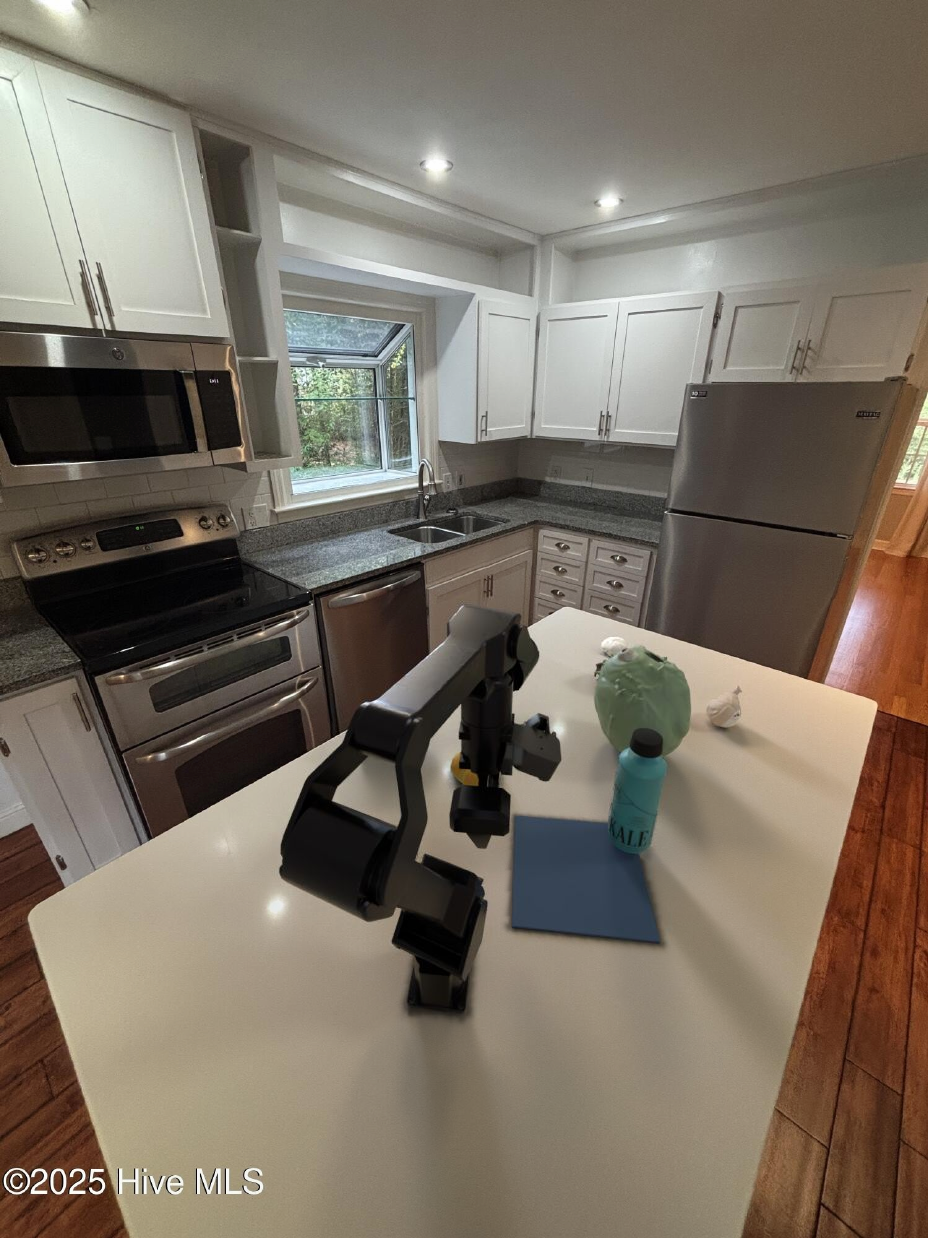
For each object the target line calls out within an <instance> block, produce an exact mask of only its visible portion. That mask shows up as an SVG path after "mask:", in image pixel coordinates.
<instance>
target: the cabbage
mask: <svg viewBox="0 0 928 1238" xmlns="http://www.w3.org/2000/svg"><path fill="white" fill-rule="evenodd" d="M610 655H611V656H612V657H611V656H609V657H608V658H607V659H606V658H605V659H602V662H603V665H602V667H601V671H597V672H595V671H594V672H593V674H594V673H595V674H597V676H598V677H597V678H595V681H596V685H595V691H594V696H593V702H594V703H593V704H594V709H595V712H596V714H597V718H598V721H599V725H600V728H601V730H602V732H603V735H604V736H605V738H607V740H608V741H609V744H610V745H611V746H613V747H614V749H616V750H617V751H618V752H619V753H621V752H622V751H623V750H625V749H627V748H629V747H630V740H631V737H632V734H633V732H634V731H635V730H636V729H638V728H649V729H652V730H655V731H657V732H658V733H659V734H660V735H661V736H662V737H663V751H662V754H661V755H660V756H661V757H662V758H664V757H666V756H667V755H669V754H671V753H673V752H674V751H676V750H677V749H678V748H679V747H680V745H681V744H682V741H683V739H684V738H685V737H686V736H687V735H688V733H689V732H690V727H691V715H692V701H691V699H692V697H691V689H690V686H689V684H688V680H687V678H686V675H685V673H684V671H683V670H682V669H680V668H679V667H678V666H677V665H676V663H674V662H670V661H669V660H668V656H660V655H658V654H656V653H654V652H653V651H651V650H649V649H647V648H646V646H645V645H643V644H635V645H634V646H633V647H630V648H628V647H627V648H623V649H622V650H620V651H618V652H617V654H610Z"/></svg>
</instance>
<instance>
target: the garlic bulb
mask: <svg viewBox="0 0 928 1238" xmlns="http://www.w3.org/2000/svg"><path fill="white" fill-rule="evenodd" d="M742 693H743V691H742V690H741V688H740V686H739V685H737V686H736V687H735V688H734V690H733V691H727V692H725V693H722V694H721V695H720V696H718V697H715V698H712V699H710V700H709V702H708V703H707V705H706V709H705V712H706V716H707V718H708V719H709V721H710V722H711V723H712V724H713V725H714V726H717V727H720V728H732V727H733V726H735V725H736V724H737V723H738V722H739V720H740V719H741V717H742V716H741V715H742V709H741V705H740V703H741V702H740V699H739V694H742Z"/></svg>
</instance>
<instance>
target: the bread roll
mask: <svg viewBox="0 0 928 1238" xmlns="http://www.w3.org/2000/svg"><path fill="white" fill-rule="evenodd" d="M460 753H461V751H459V752H458V753H456V754H454V756H453V757H452V758H451V762H450V768H449V769H450V771H451V773H452V776H454V778H455V779H456V780H457V781H459V782H460V783H462V785H473V786H478V781H479V780H478V777H477V774H474V773H472V772H471V771H470V770H468V769H459V759H460ZM501 776H502V775H501V772H500V778H501Z"/></svg>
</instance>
